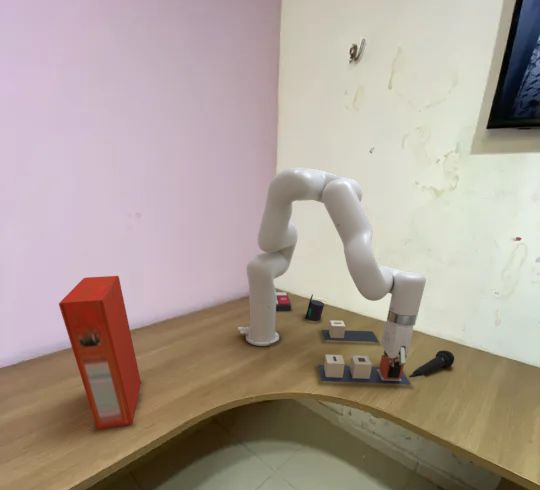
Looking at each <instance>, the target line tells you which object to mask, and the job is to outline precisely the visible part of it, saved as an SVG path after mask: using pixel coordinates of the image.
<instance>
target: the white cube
mask: <svg viewBox="0 0 540 490" xmlns="http://www.w3.org/2000/svg"><path fill="white" fill-rule="evenodd" d="M323 363H324V364H323V365H324V371H325V375H326V377H335V378H343V371H344V366H346V365H345V364H346V363H345V361H344V357H343V355H342V354H325V355H324V362H323Z"/></svg>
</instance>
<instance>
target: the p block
mask: <svg viewBox="0 0 540 490" xmlns="http://www.w3.org/2000/svg"><path fill="white" fill-rule="evenodd" d="M349 366H350V372H351V375H352V377H353V378H361V379H369V378H370V373H371V368H372V367H373V363H372V361H371V359H370V357H369V355H351V357H350V364H349Z"/></svg>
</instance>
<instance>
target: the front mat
mask: <svg viewBox="0 0 540 490" xmlns="http://www.w3.org/2000/svg"><path fill="white" fill-rule="evenodd" d="M379 367H380V366H372V368H371V373H370V378H369V379H361V378H353V377H352V375H351V372H350V365H344V371H343V378H335V377H326V375H325V371H324V364H318V369H319V370H318V371H319V376H320V380H321V382H332V383H333V382H335V383H358V384H360V383H361V384H363V383H364V384H387V385H411V382H410V381H409V379H408V378H407V376H406V374H405V373H404V370H403V371H402V375H401V379H395V378H384V377H383V375H382V374H381V372H380V370H379Z"/></svg>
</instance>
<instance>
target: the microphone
mask: <svg viewBox="0 0 540 490" xmlns="http://www.w3.org/2000/svg"><path fill="white" fill-rule="evenodd" d="M454 361H455V355H454V354H453V353H452V352H451V351H449V350H445V349H443V350H439V351H437V352H436V354H435V357H434V358H432V359H430V360H429V361H427V362H425V363H424V364H423V365H421V366H419V367H418V368H416V369H415V370H414V371H413V372H412V373H411V374H410V375H409V376H408V378H415V377H421V376H425V375H427V374H429V373H433V372H434V371H436V370H438V369H440V368H442V367H443V368H451V367H452V366H453V364H454V363H455V362H454Z"/></svg>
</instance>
